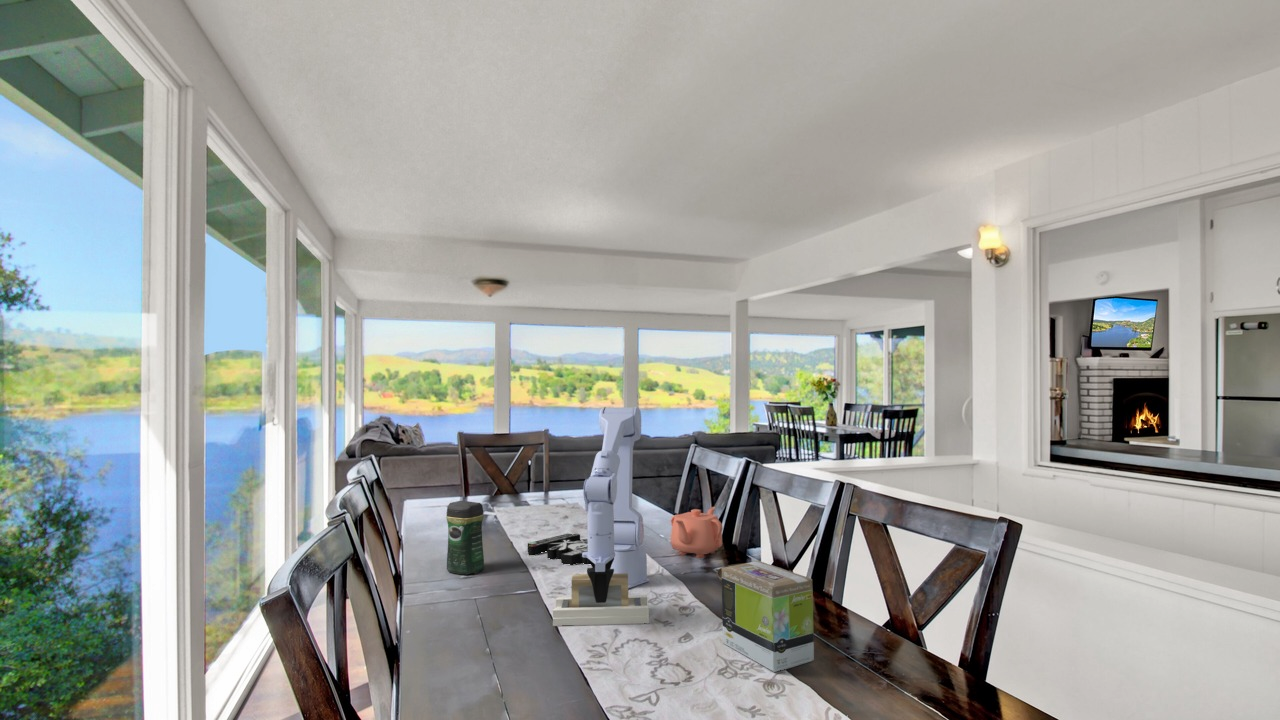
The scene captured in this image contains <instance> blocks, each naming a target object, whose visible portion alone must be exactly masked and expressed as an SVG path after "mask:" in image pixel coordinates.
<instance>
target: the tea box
mask: <svg viewBox="0 0 1280 720" xmlns="http://www.w3.org/2000/svg"><path fill="white" fill-rule="evenodd" d="M739 564H740V565H734V566H729V567H725V566H723V568H722V567H721V568H722V582H721V610H722V612H721V615H722V616H721V619H722V620H721V621H722V626H721V627H722V644H724V645H726V646H728V647H729V648H731V649H732V650H735V651H737V652H738V653H740V654H742V655H743V656H745V657H747V658H749V659H751V660H752V661H754V662H756V663H758V664H760V665H761V666H763V667H764V668H766V669H768V670H770V671H771V672H774V673H776V672H780V670H781V671H784V669H785V670H788V669H791V668H795V667H798V666H801V665H803V664H808V663H810V662H813V661H814V658H815V657H814V656H815V644H814V643H815V642H814V641H815V639H814V638H815V636H814V599H813V598H814V597H813V596H814V595H813V594H814V593H813V592H814V591H813V579H812V578H810V577H808V576H804V575H802V574H799V573H796V572H793V571H789V570H787V569H784V568H782V567H778V566H775V565H773V564H769V563H766V562H764V561H761V560H756V561H750V562H745V563H739Z"/></svg>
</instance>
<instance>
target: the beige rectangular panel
mask: <svg viewBox="0 0 1280 720" xmlns="http://www.w3.org/2000/svg"><path fill="white" fill-rule="evenodd" d="M628 596H629V588H628V573H618V574H613V575H612V577H611V580H610V583H609V588H608V595H607V600H606V603H596V601H595V596H594V591H593V586H592V583H591V580H590V578H589V576H588V574H587V573H581V574H577V573H575V574H572V577H571V597H572V608H579V607H617V606H628Z"/></svg>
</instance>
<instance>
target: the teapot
mask: <svg viewBox="0 0 1280 720" xmlns="http://www.w3.org/2000/svg"><path fill="white" fill-rule="evenodd" d="M715 509H716V506H712V507H710V508H709V509H708V510H707V513H706V512H705V513H704V512H702V509H697V508H694V509H691V510H690V511H687V512H684V513H680V514H679V513H678V514H675V515H673V516H672V517H671V519H670V524H671V532H670V544H671V548H672V549H673V550H675V551H679V552H678V553H677V556H681V555H683V556H687V554H688V553H689V554H690V553H691V554H695V558H696V559H698V558H704V559H705V558H706V556H705V555H707V554H708V555H709V553H714V554H716V551H717V550H719V549H720V548H721V547H722V545H723V529H724V528H723V523H721V521H720V520H719V517H718V515H716V514H714V512H715Z"/></svg>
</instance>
